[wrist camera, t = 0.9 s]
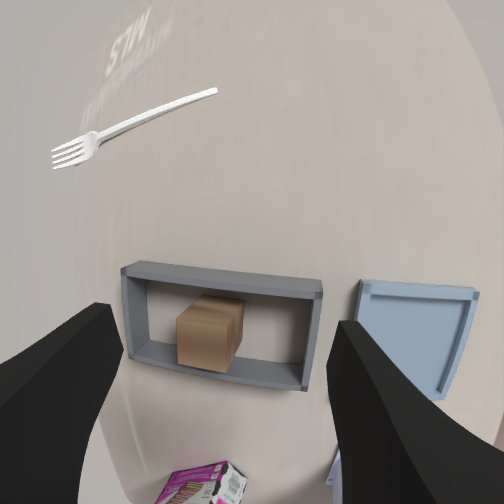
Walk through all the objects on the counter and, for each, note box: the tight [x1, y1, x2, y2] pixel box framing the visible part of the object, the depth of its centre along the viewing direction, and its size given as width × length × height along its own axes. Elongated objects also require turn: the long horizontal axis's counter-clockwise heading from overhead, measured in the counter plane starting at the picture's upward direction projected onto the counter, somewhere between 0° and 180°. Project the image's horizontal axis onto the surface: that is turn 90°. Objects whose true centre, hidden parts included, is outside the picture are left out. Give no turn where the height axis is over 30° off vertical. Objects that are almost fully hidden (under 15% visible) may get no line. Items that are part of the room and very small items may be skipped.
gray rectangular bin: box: [121, 261, 323, 392], centre depth 26 cm, size 9×17×4 cm, turn 87°
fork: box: [52, 87, 218, 169], centre depth 26 cm, size 3×20×2 cm, turn 104°
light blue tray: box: [354, 279, 480, 401], centre depth 24 cm, size 12×12×2 cm
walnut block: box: [176, 295, 244, 373], centre depth 25 cm, size 4×4×6 cm
